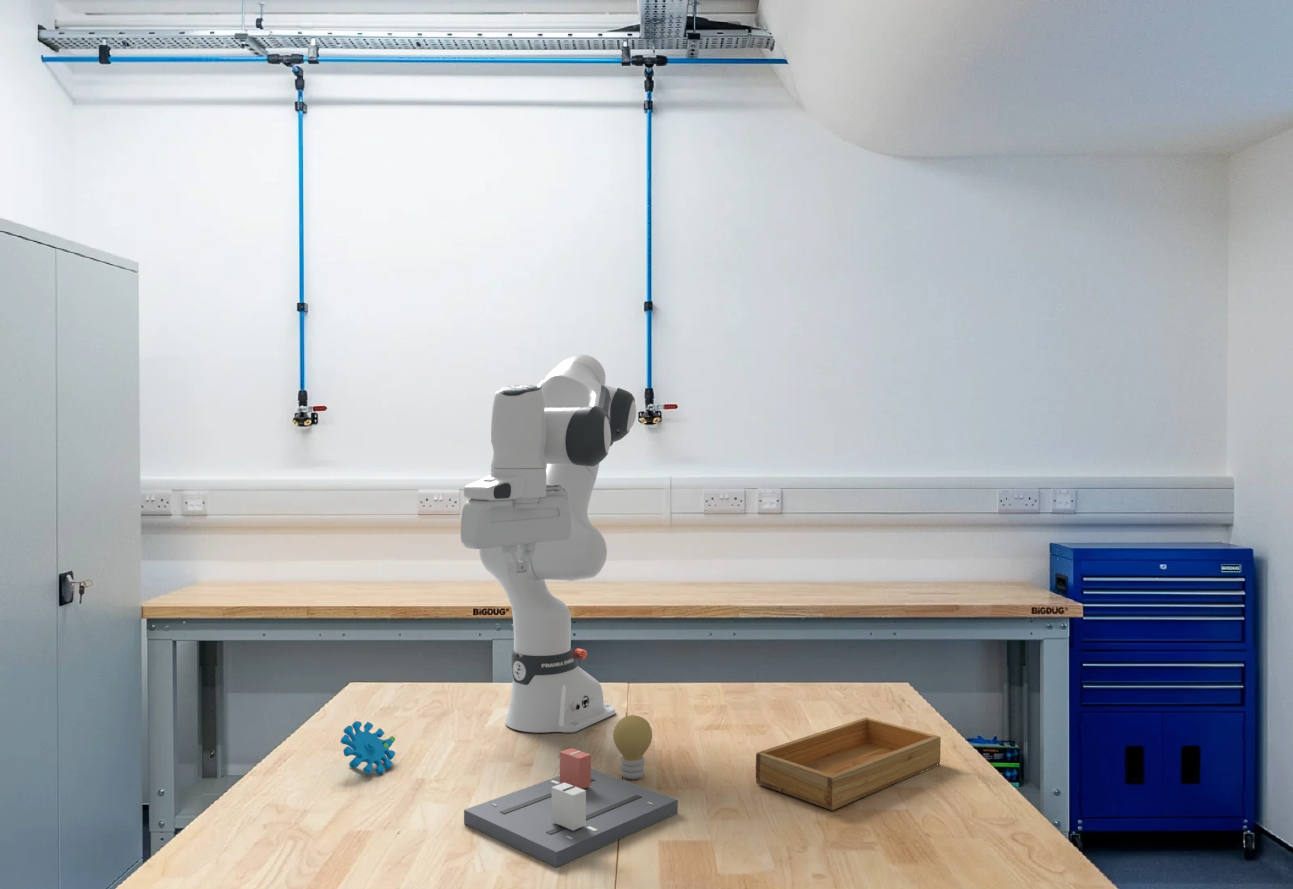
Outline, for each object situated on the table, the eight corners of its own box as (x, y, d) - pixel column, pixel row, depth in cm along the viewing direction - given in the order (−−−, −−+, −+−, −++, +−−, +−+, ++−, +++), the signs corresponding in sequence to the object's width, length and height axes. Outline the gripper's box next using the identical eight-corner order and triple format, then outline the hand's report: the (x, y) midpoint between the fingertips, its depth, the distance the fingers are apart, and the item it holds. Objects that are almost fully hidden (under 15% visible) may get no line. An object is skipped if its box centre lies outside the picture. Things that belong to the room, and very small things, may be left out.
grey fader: (564, 816, 132) (564, 781, 132) (585, 825, 129) (585, 789, 129) (551, 821, 130) (551, 786, 130) (572, 830, 127) (573, 794, 127)
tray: (865, 745, 171) (865, 714, 171) (940, 767, 160) (941, 734, 160) (754, 787, 150) (755, 752, 150) (832, 816, 139) (832, 778, 139)
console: (585, 779, 152) (585, 766, 152) (677, 813, 139) (677, 798, 139) (464, 823, 135) (464, 809, 135) (556, 867, 121) (556, 851, 121)
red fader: (571, 778, 146) (571, 747, 146) (590, 785, 143) (590, 754, 143) (559, 782, 145) (559, 751, 145) (579, 790, 142) (579, 757, 142)
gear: (361, 774, 150) (335, 722, 154) (340, 796, 152) (315, 744, 156) (411, 763, 159) (385, 714, 164) (391, 784, 161) (366, 735, 165)
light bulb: (657, 772, 155) (657, 712, 155) (644, 786, 149) (644, 724, 149) (621, 768, 158) (621, 709, 157) (607, 781, 151) (607, 719, 151)
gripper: (554, 483, 159) (554, 564, 159) (454, 487, 144) (454, 577, 144) (580, 484, 155) (579, 567, 155) (479, 489, 140) (479, 581, 140)
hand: (518, 572), depth 150 cm, fingers closed
